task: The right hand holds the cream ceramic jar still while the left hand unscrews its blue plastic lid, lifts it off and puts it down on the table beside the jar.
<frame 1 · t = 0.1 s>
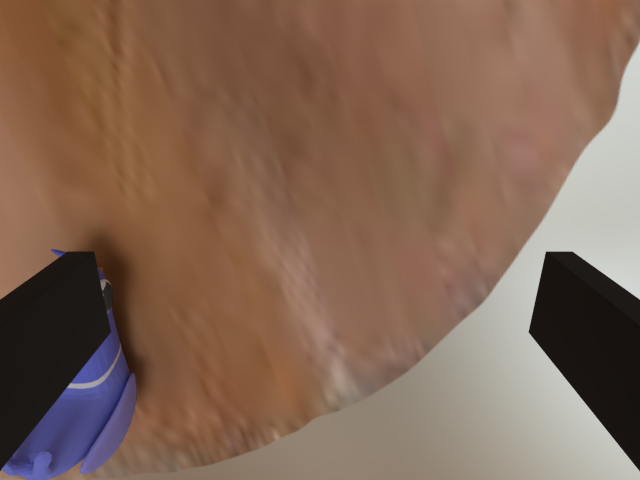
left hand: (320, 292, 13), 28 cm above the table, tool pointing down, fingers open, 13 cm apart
toy: (105, 328, 46), on the table
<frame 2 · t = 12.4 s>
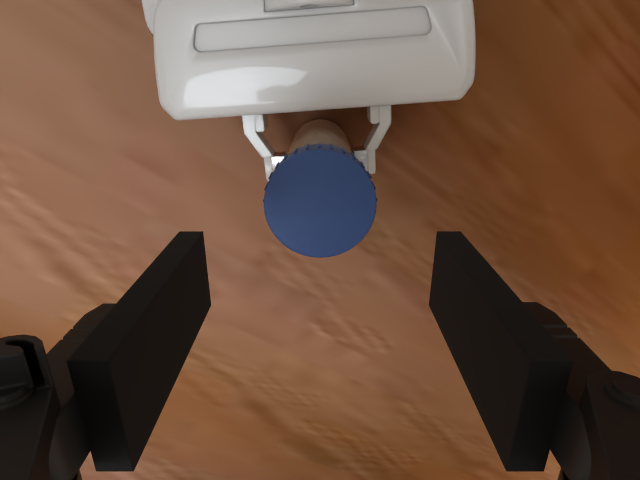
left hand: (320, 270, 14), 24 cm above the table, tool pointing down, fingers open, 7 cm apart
right hand: (321, 176, 30), fingers closed on jar, 5 cm apart
jar: (320, 148, 36), on the table, touching right hand
lid: (320, 204, 21), point 16 cm above the table, screwed on, not yet turned
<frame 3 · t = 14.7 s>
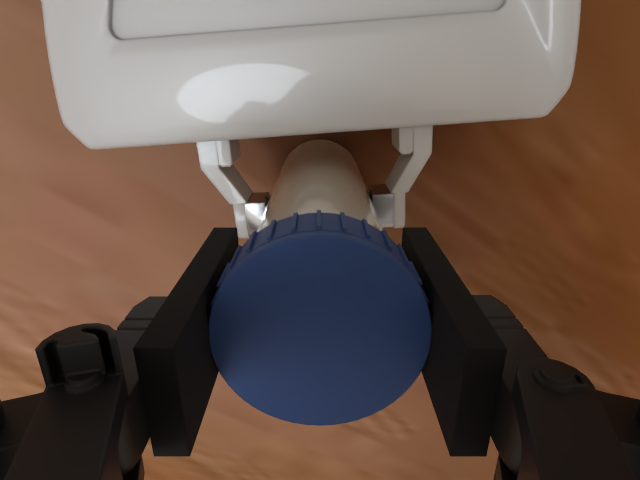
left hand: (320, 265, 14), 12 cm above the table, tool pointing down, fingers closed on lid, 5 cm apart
right hand: (322, 229, 20), fingers closed on jar, 5 cm apart
jar: (319, 179, 26), on the table, touching right hand
lid: (320, 332, 11), point 16 cm above the table, screwed on, not yet turned, touching left hand
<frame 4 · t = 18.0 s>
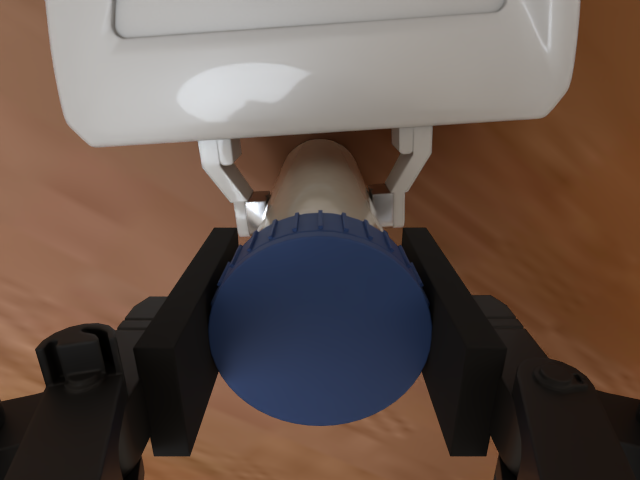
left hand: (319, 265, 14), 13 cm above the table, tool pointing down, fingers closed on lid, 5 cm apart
right hand: (322, 228, 20), fingers closed on jar, 5 cm apart
jar: (320, 178, 26), on the table, touching right hand
lid: (320, 332, 11), point 16 cm above the table, turned 99° so far, risen 0.2 cm, still on its thread, touching left hand
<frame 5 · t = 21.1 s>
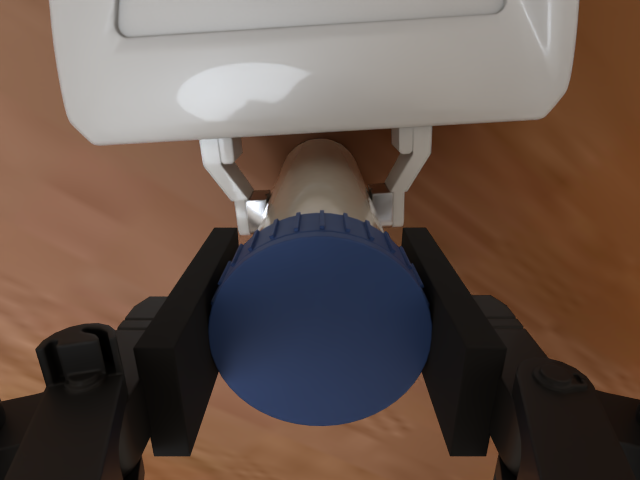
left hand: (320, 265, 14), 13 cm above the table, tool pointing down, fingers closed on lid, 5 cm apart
right hand: (322, 227, 20), fingers closed on jar, 5 cm apart
jar: (320, 178, 26), on the table, touching right hand
lid: (320, 332, 11), point 17 cm above the table, turned 198° so far, risen 0.3 cm, still on its thread, touching left hand
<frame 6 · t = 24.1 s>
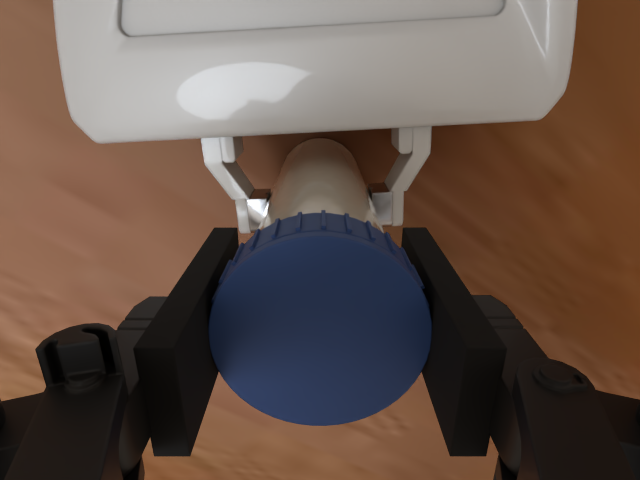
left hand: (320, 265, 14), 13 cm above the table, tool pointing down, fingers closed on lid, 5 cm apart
right hand: (321, 226, 21), fingers closed on jar, 5 cm apart
jar: (320, 177, 26), on the table, touching right hand
lid: (320, 332, 11), point 17 cm above the table, turned 297° so far, risen 0.5 cm, still on its thread, touching left hand
when the left hand's fingers open (0 cm above the table, at t = 31.1 s): lid drops 3 cm, point 1 cm above the table.
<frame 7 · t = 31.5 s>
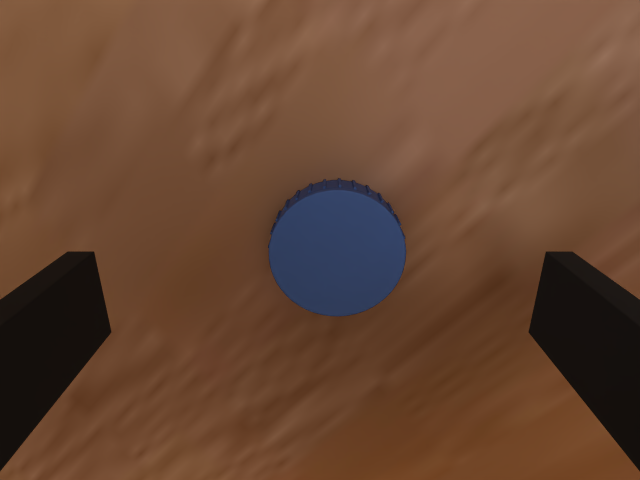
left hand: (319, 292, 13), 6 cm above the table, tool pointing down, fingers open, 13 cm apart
lid: (336, 253, 17), point 1 cm above the table, off its thread
when the right hand's fingers open (6 cm above the table, at t = 31.8 s): jar stays where it is, on the table.
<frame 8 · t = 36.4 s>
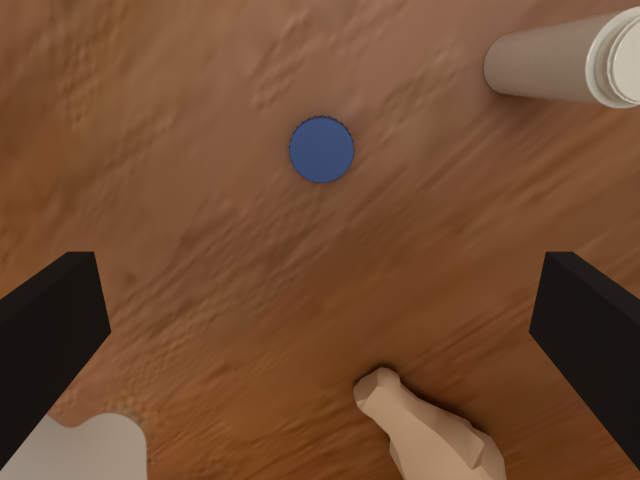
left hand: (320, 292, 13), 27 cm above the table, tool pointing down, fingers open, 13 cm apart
squash: (418, 418, 49), on the table
jar: (512, 63, 35), on the table
lid: (321, 150, 36), point 1 cm above the table, off its thread
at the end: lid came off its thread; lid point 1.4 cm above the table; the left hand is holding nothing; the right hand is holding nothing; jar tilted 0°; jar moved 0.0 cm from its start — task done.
